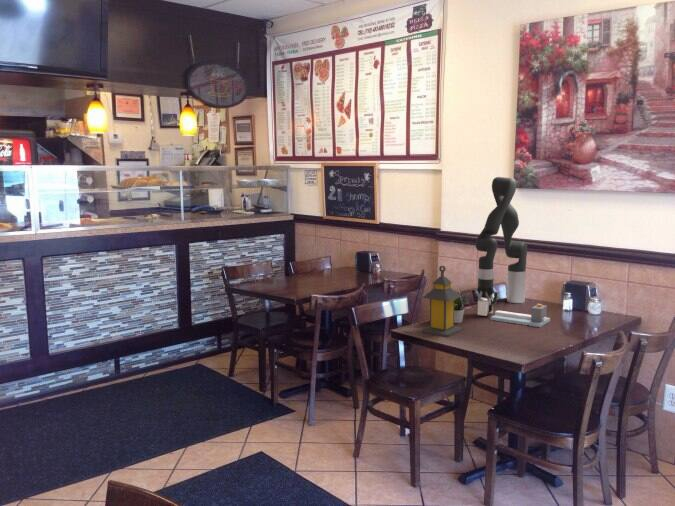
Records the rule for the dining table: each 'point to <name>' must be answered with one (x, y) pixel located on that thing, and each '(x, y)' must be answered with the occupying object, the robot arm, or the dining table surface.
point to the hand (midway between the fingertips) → (485, 310)
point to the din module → (483, 307)
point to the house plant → (457, 310)
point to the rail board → (518, 321)
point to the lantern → (442, 307)
